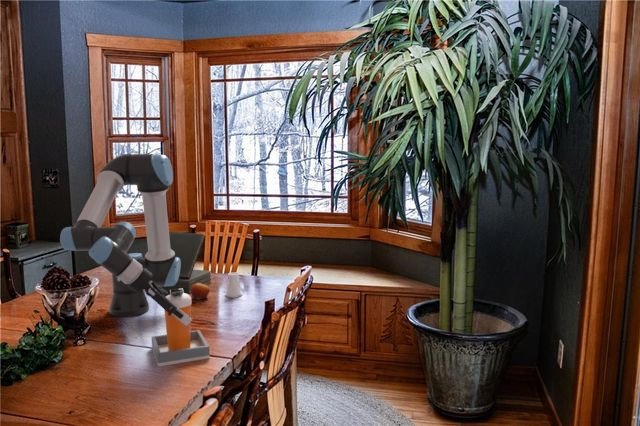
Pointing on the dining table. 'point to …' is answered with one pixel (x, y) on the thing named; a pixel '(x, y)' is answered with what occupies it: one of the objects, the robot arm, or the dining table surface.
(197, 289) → the fruit
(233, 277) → the white cup
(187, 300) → the shaker bottle
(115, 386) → the dining table surface
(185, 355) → the tray
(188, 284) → the grey angled stand
